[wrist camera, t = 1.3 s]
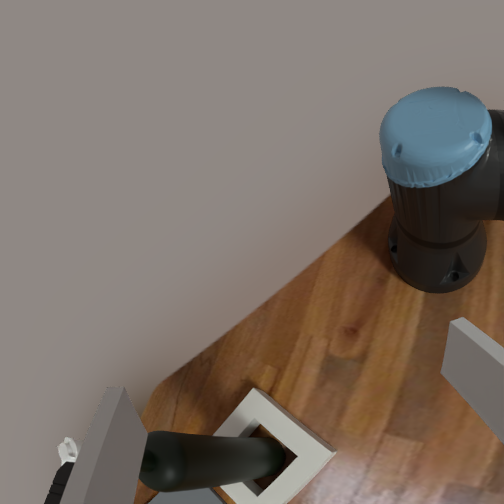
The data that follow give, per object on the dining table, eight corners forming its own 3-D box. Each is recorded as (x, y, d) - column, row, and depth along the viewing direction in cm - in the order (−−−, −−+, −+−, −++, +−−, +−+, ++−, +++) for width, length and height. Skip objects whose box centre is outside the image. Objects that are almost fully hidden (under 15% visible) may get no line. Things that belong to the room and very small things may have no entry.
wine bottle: (249, 435, 39) (50, 402, 17) (288, 439, 36) (92, 423, 14) (244, 472, 36) (41, 472, 14) (283, 478, 33) (82, 506, 11)
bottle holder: (263, 390, 42) (253, 387, 40) (337, 451, 32) (332, 452, 30) (205, 456, 40) (193, 456, 37) (268, 519, 30) (258, 524, 28)
